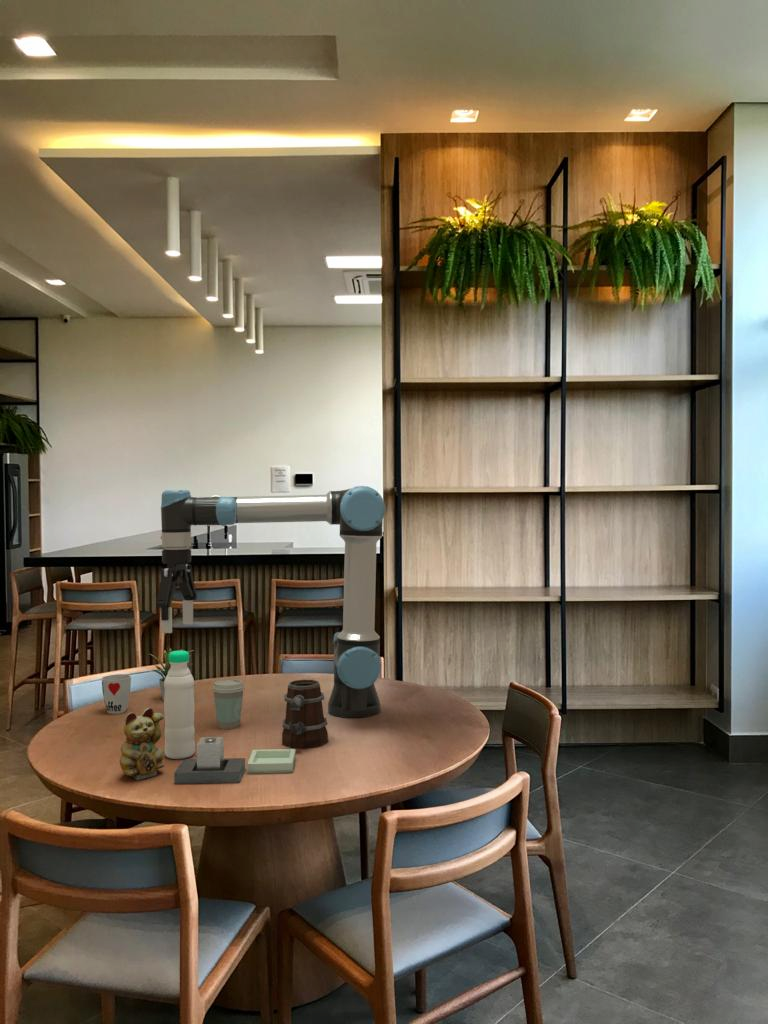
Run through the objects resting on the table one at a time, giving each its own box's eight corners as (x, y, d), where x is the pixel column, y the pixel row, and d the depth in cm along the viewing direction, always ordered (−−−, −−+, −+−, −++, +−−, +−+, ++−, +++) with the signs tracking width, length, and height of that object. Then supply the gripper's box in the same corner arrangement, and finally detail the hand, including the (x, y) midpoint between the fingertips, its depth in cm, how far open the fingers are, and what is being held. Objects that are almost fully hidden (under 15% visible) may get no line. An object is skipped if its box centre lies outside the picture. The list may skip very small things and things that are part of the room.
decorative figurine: (130, 784, 172) (129, 715, 172) (110, 776, 177) (110, 709, 177) (169, 773, 179) (168, 706, 179) (149, 765, 185) (148, 700, 184)
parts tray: (295, 758, 189) (295, 749, 189) (292, 772, 179) (292, 763, 179) (253, 759, 188) (253, 749, 188) (247, 773, 178) (247, 764, 178)
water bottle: (179, 761, 187) (178, 655, 186) (158, 756, 190) (157, 652, 190) (201, 753, 193) (200, 650, 192) (180, 748, 196) (179, 647, 196)
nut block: (223, 772, 179) (223, 735, 179) (220, 780, 174) (219, 742, 174) (201, 772, 179) (201, 736, 179) (197, 780, 174) (196, 742, 174)
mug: (288, 733, 208) (288, 676, 208) (333, 736, 206) (333, 678, 206) (269, 752, 193) (268, 691, 193) (317, 755, 191) (317, 693, 190)
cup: (95, 713, 229) (95, 679, 229) (115, 706, 237) (114, 673, 236) (118, 716, 226) (118, 681, 226) (137, 709, 234) (136, 675, 233)
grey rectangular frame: (245, 768, 182) (245, 758, 182) (239, 782, 173) (239, 771, 173) (183, 769, 181) (183, 759, 181) (174, 783, 172) (174, 772, 172)
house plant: (208, 697, 247) (207, 645, 247) (174, 707, 235) (173, 652, 235) (176, 691, 255) (175, 640, 254) (141, 701, 243) (141, 647, 243)
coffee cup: (237, 731, 211) (237, 686, 210) (207, 729, 212) (207, 685, 212) (249, 722, 219) (249, 679, 219) (220, 720, 221) (220, 677, 221)
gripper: (182, 545, 223) (183, 620, 224) (141, 551, 199) (142, 636, 199) (207, 545, 222) (209, 621, 222) (169, 551, 197) (171, 636, 198)
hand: (177, 628), depth 211 cm, fingers open, 13 cm apart
